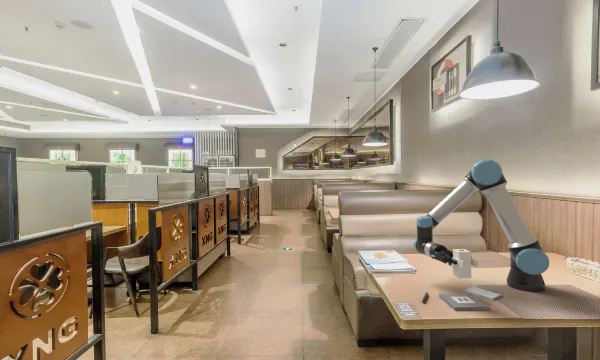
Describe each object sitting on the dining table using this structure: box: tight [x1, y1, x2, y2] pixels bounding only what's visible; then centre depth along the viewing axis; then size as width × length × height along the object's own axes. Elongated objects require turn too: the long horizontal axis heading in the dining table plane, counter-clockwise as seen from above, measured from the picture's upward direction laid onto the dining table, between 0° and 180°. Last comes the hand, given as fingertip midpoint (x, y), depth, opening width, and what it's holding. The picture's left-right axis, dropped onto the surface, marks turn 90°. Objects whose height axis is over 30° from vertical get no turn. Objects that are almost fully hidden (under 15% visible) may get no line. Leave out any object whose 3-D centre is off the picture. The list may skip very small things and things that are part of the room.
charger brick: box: [452, 248, 472, 279], centre depth 128 cm, size 5×5×11 cm
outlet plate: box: [438, 293, 491, 311], centre depth 127 cm, size 14×14×2 cm
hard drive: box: [463, 286, 503, 302], centre depth 137 cm, size 2×8×12 cm
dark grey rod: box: [421, 292, 429, 304], centre depth 132 cm, size 11×1×1 cm, turn 149°
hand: (470, 264), depth 123 cm, fingers closed on charger brick, 6 cm apart
